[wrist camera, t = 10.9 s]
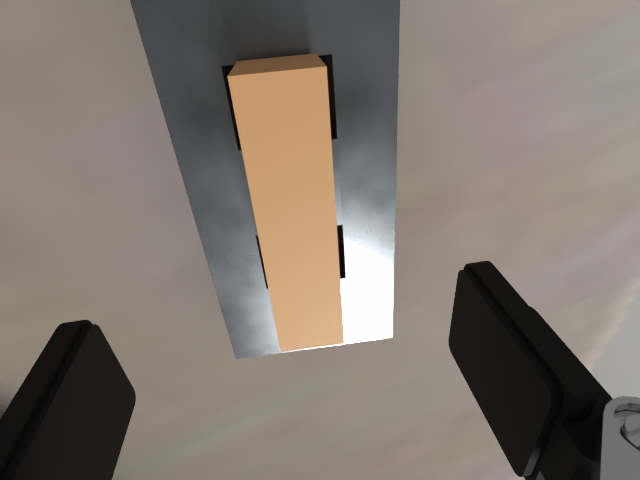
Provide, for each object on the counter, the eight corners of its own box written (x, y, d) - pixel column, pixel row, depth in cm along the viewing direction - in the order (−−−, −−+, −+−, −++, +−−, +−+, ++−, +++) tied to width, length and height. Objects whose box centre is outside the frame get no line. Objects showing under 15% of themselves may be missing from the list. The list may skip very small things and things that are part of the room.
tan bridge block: (244, 48, 18) (227, 76, 12) (307, 42, 18) (326, 66, 12) (278, 256, 25) (280, 352, 18) (325, 250, 25) (344, 343, 18)
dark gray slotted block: (133, -81, 15) (100, -100, 12) (378, -103, 16) (402, -127, 13) (240, 320, 27) (236, 359, 24) (379, 301, 28) (392, 337, 25)
